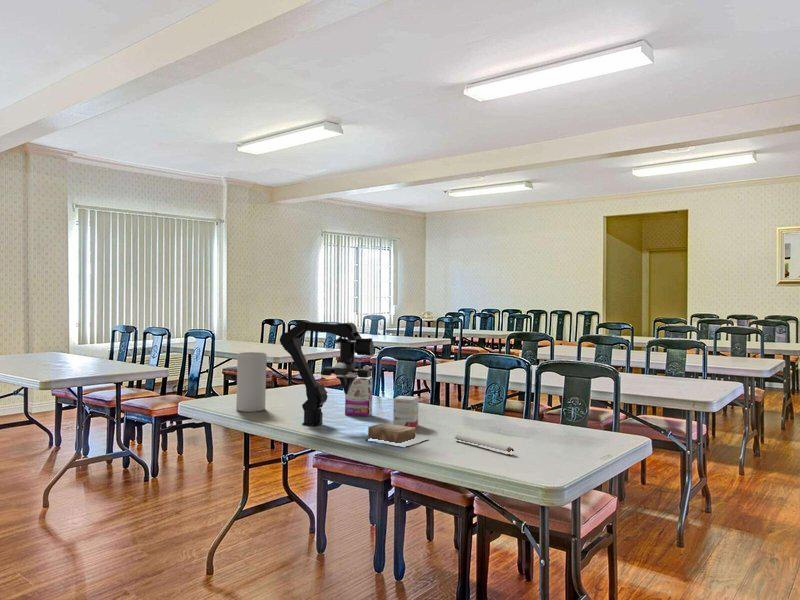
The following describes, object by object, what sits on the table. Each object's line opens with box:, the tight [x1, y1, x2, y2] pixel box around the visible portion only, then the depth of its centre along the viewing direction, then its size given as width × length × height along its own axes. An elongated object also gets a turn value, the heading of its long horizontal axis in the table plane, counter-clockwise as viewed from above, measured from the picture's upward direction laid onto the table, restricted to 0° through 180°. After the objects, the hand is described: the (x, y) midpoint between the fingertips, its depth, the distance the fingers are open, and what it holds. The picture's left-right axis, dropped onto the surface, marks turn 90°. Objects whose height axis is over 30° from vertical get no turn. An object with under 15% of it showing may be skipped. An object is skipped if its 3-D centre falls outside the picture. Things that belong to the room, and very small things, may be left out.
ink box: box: [392, 395, 419, 428], centre depth 246 cm, size 9×9×12 cm
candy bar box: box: [344, 376, 374, 417], centre depth 266 cm, size 11×5×16 cm, turn 76°
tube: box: [454, 433, 515, 452], centre depth 213 cm, size 3×3×25 cm
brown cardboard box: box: [367, 422, 417, 443], centre depth 223 cm, size 4×10×14 cm
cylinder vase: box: [235, 351, 268, 413], centre depth 272 cm, size 12×12×25 cm
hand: (346, 394), depth 241 cm, fingers closed
